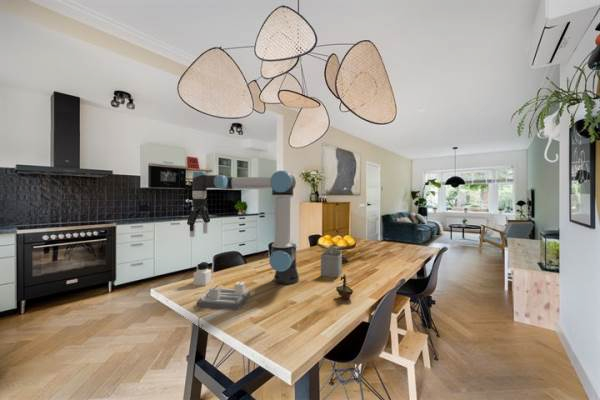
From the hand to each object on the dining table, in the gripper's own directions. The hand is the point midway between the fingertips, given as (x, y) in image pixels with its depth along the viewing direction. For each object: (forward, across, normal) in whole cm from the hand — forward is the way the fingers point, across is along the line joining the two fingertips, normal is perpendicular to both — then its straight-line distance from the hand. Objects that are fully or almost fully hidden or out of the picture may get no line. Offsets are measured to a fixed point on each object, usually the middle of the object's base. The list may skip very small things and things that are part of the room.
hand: (199, 235), depth 138 cm
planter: (+28, -26, +78) cm, 87 cm away
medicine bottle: (+28, 0, +2) cm, 28 cm away
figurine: (+28, +8, +83) cm, 88 cm away
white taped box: (+26, +16, +31) cm, 43 cm away
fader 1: (+26, +24, +22) cm, 41 cm away
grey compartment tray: (+28, +20, +25) cm, 43 cm away
